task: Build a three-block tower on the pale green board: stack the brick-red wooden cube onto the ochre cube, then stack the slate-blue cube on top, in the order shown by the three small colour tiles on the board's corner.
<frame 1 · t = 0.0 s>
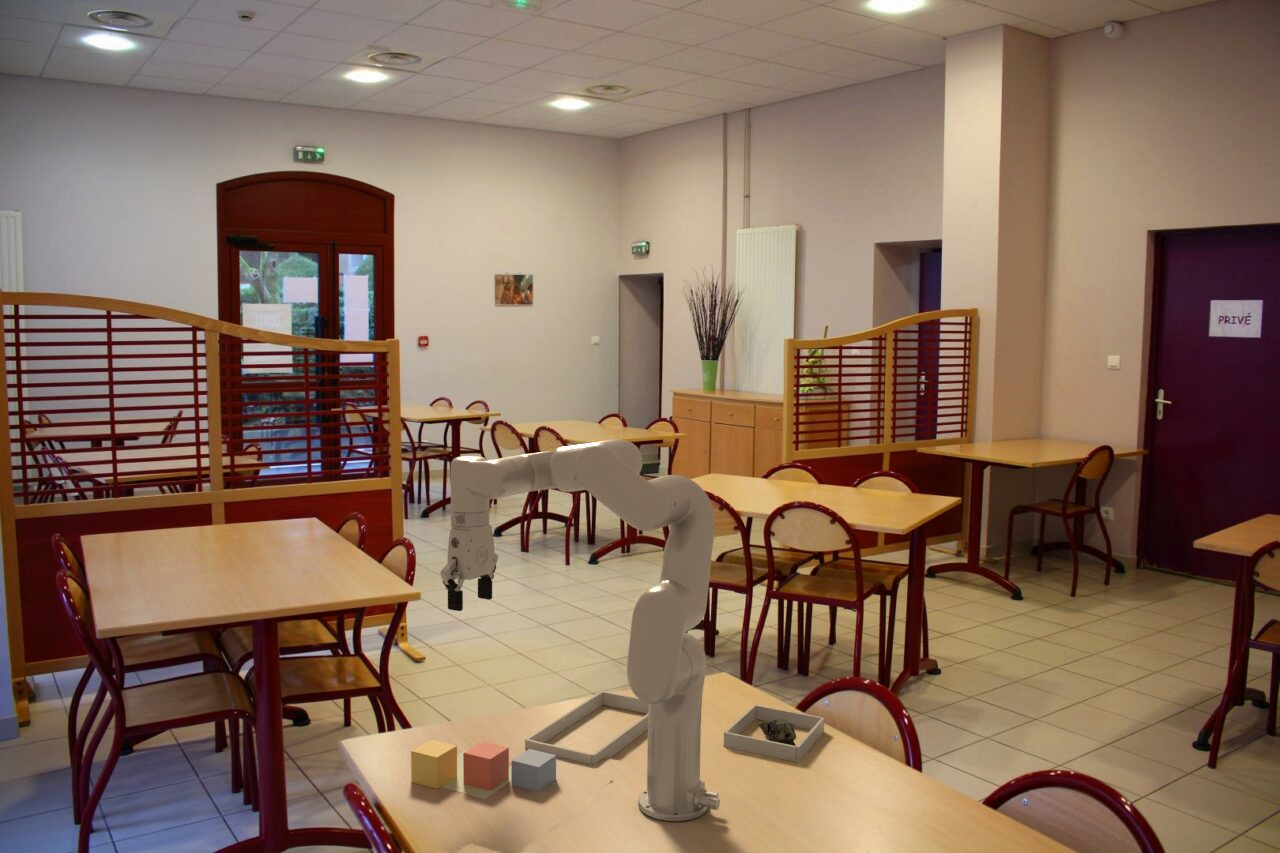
hand: (470, 604, 199), 31 cm above the table, tool pointing down, fingers open, 9 cm apart
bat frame: (598, 734, 214), on the table
seashell: (773, 739, 213), on the table
slate block: (533, 788, 188), on the table
shell frame: (774, 738, 212), on the table
red block: (486, 781, 188), point 1 cm above the table, touching building board
ochre block: (434, 779, 188), point 1 cm above the table, touching building board
building board: (475, 778, 191), on the table
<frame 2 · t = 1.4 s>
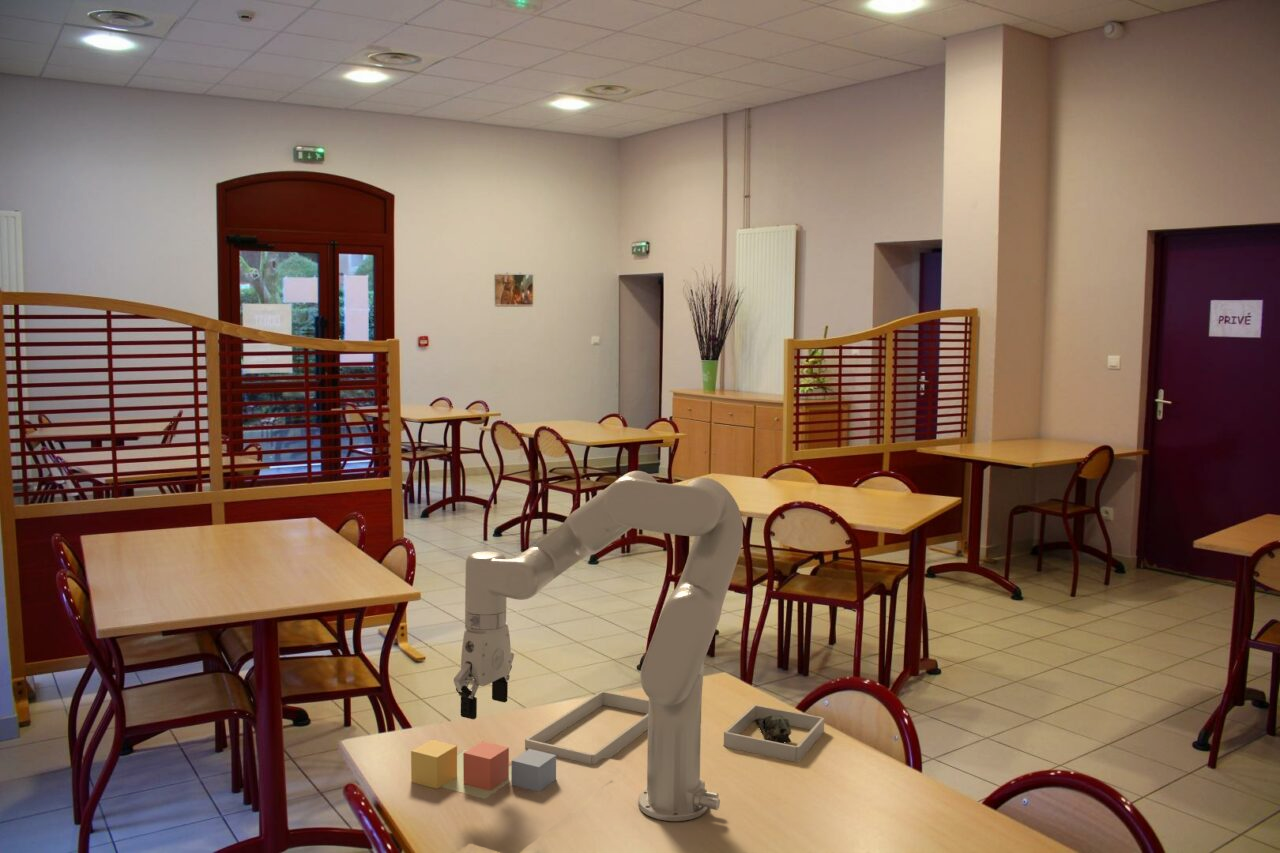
hand: (484, 709, 187), 15 cm above the table, tool pointing down, fingers open, 9 cm apart
seashell: (768, 735, 215), on the table
everything else where it was.
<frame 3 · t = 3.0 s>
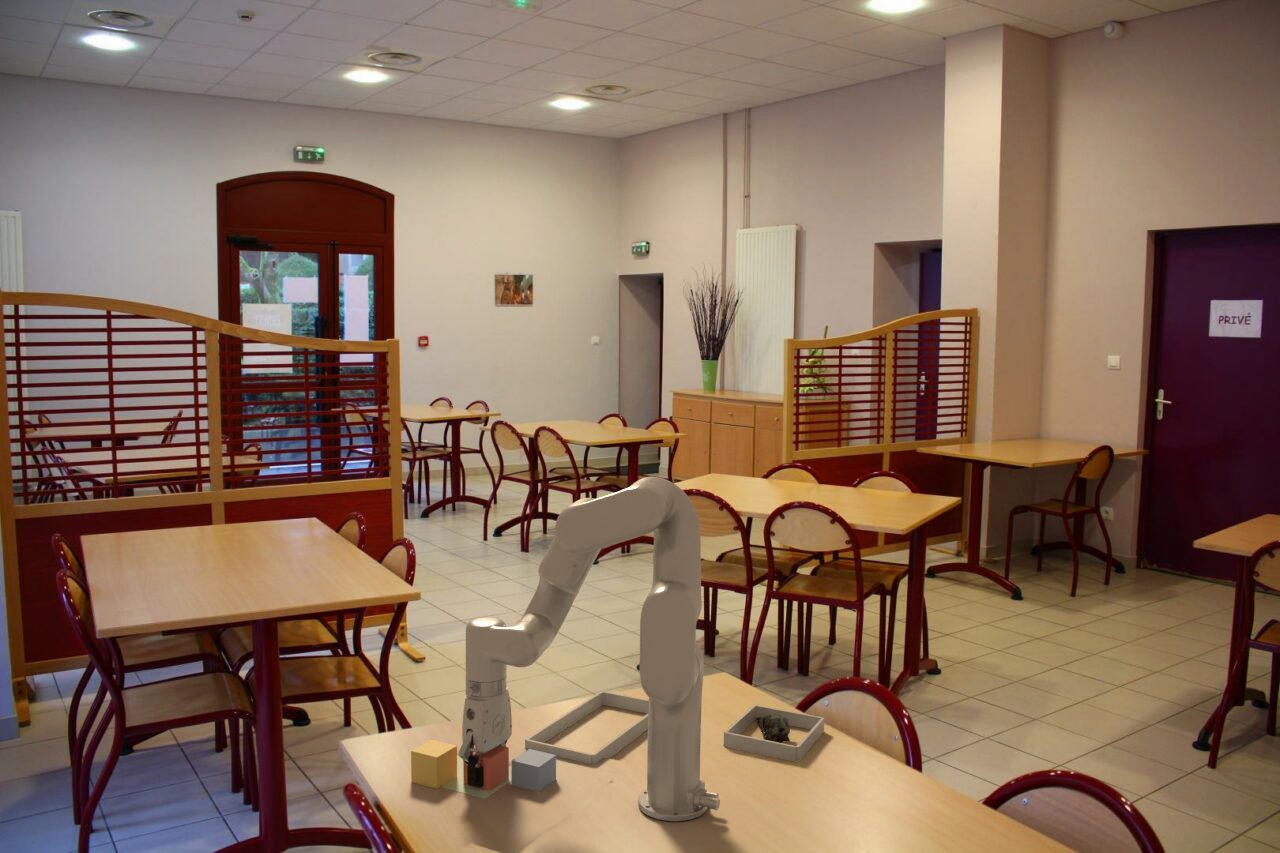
hand: (486, 777, 188), 2 cm above the table, tool pointing down, fingers closed on red block, 6 cm apart
red block: (486, 781, 188), point 1 cm above the table, touching building board, gripper
when the fingers open (9 cm above the table, at t = 7.3 s): red block drops 1 cm, resting on ochre block.
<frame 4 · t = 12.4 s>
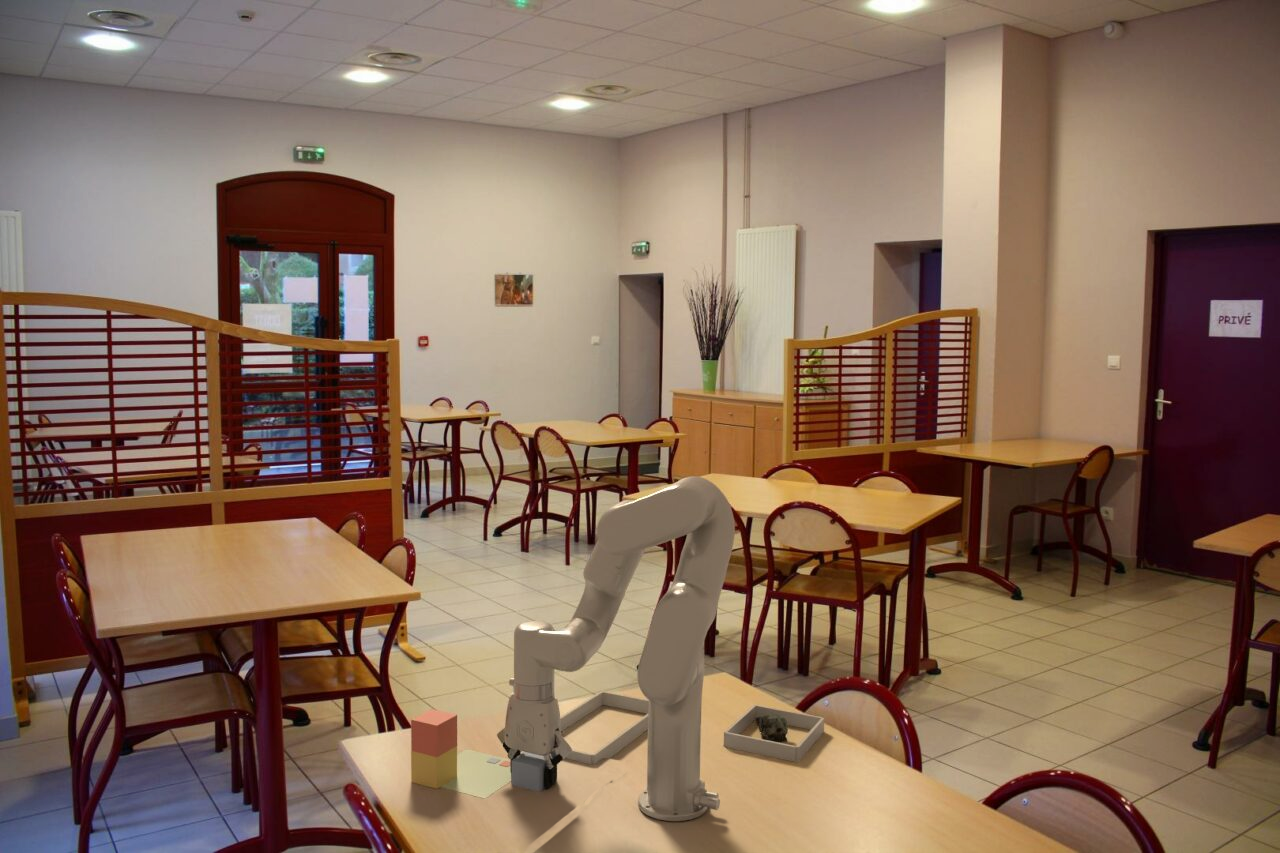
hand: (533, 781, 188), 1 cm above the table, tool pointing down, fingers open, 6 cm apart
red block: (434, 748, 188), point 7 cm above the table, touching ochre block
ochre block: (434, 779, 188), point 1 cm above the table, touching building board, red block
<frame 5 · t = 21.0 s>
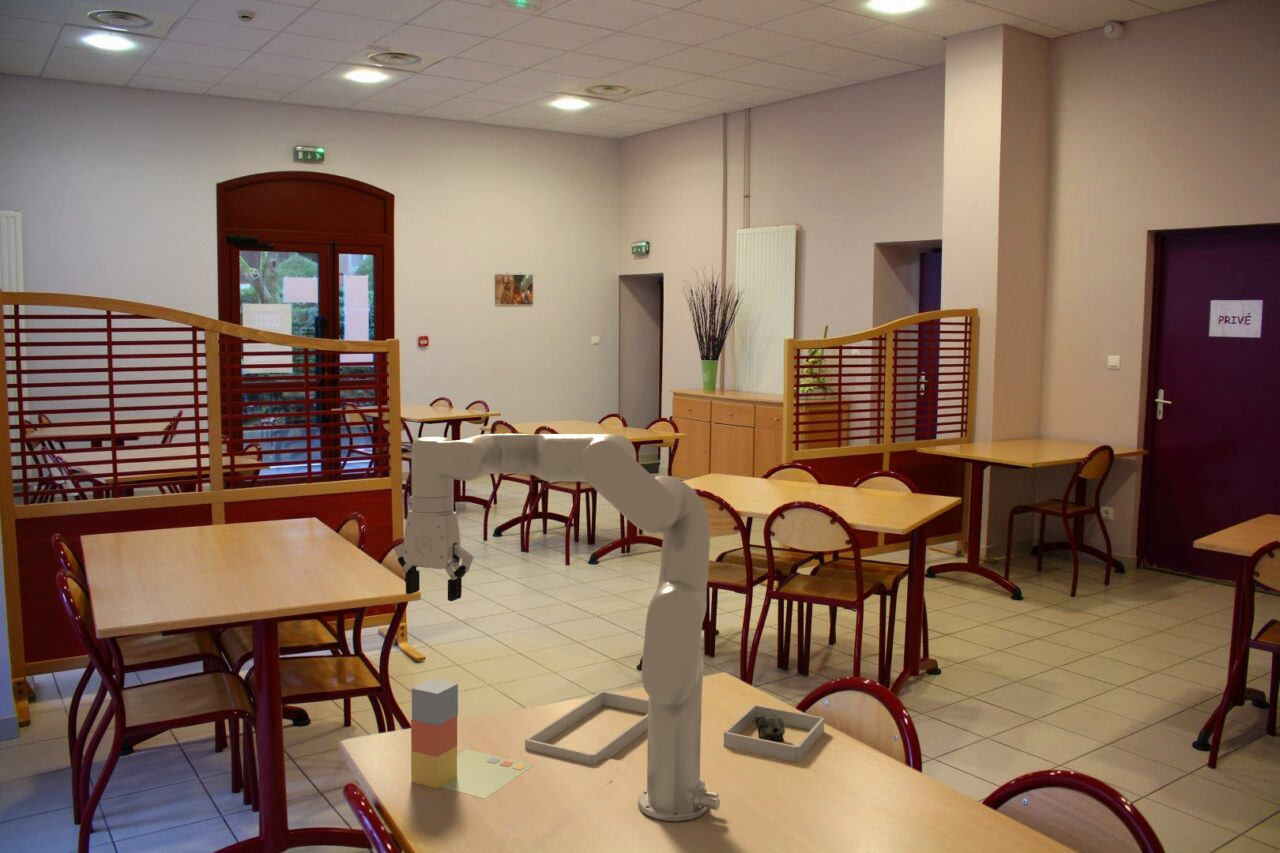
hand: (433, 596, 185), 36 cm above the table, tool pointing down, fingers open, 9 cm apart
slate block: (435, 717, 187), point 13 cm above the table, touching red block
red block: (434, 748, 188), point 7 cm above the table, touching ochre block, slate block
at the end: red block 0.0 cm off-centre on the ochre block, point 6.0 cm above the ochre block's base; slate block 0.2 cm off-centre on the ochre block, point 12.0 cm above the ochre block's base; slate block tilted 0° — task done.
